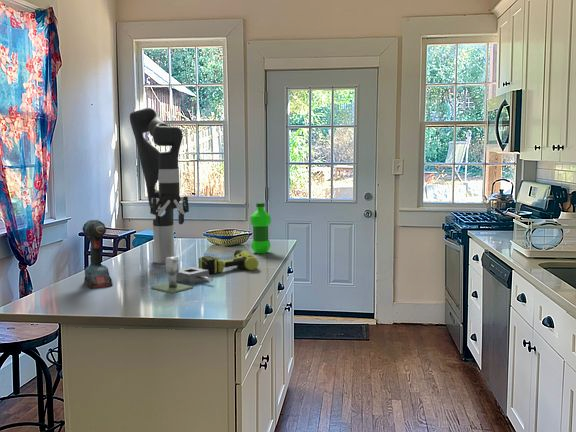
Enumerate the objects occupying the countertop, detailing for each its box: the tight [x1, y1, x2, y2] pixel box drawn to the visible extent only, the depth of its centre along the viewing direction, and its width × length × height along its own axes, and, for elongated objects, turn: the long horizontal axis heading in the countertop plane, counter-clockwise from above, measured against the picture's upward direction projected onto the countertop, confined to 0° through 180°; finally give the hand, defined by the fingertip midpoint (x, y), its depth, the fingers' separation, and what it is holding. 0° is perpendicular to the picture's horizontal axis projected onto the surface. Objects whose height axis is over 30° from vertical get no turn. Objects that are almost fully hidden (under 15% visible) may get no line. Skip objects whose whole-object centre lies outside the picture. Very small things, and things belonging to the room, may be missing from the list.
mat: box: [150, 282, 194, 294], centre depth 215 cm, size 12×10×1 cm
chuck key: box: [165, 256, 180, 288], centre depth 214 cm, size 5×7×11 cm
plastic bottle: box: [250, 202, 272, 254], centre depth 286 cm, size 10×11×25 cm
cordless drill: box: [198, 249, 259, 276], centre depth 252 cm, size 7×25×25 cm
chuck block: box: [177, 266, 214, 286], centre depth 225 cm, size 17×10×4 cm, turn 52°
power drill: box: [82, 219, 114, 289], centre depth 220 cm, size 9×23×25 cm, turn 27°
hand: (170, 225), depth 212 cm, fingers open, 8 cm apart
